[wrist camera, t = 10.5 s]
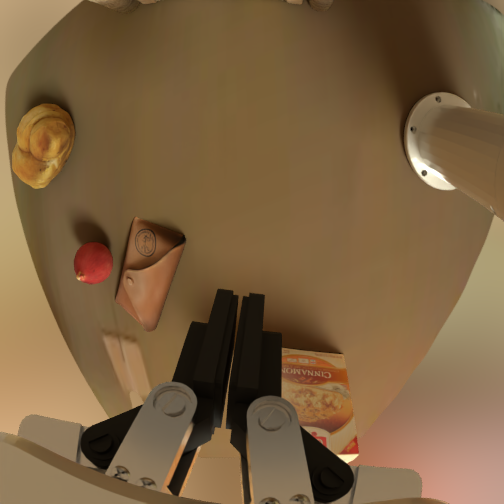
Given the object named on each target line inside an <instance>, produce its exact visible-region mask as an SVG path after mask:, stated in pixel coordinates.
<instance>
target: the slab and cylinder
mask: <svg viewBox="0 0 504 504" xmlns="http://www.w3.org/2000/svg"><path fill="white" fill-rule="evenodd" d="M89 1H92V2H95V3H97V4H100V5H102V6H105V7H107V8H110V9H112V10H115V11H117V12H119V13H122V14H128V13H131V12H133V11H134V10H135V9H136V8H137V7H138V6H139V4H140V1H138V0H89Z"/></svg>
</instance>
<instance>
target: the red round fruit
mask: <svg viewBox="0 0 504 504" xmlns="http://www.w3.org/2000/svg"><path fill="white" fill-rule="evenodd" d="M112 267H113V257H112V255H111V252H110V251H109V250H108V248H107V247H106V246H104V245H103V244H101V243H98V242H89V243H86V244H84V245H83V246H82V247H80V248H79V250H78V251H77V253H76V256H75V259H74V270H75V273H76V275H77V276H76V277H77V279H78V280H81V281H82V282H84V283H88V284H96V283H100V282H103V281H104V280H105V279H106V278H107V277H108V276H109V275H110V272H111V270H112Z"/></svg>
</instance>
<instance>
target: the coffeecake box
mask: <svg viewBox="0 0 504 504" xmlns="http://www.w3.org/2000/svg"><path fill="white" fill-rule="evenodd" d="M282 398H284V399H285V400H287V401H288V402H290V403H291V404H292V405H293V406H294V408H295V410H296V412H297V415H298V420H299V425H300V426H302V427H303V428H304V429H305V430H306V431H307V432H309V433H310V434H311V435H312V436H313V437H315V438H316V439H317V440H318V441H319V442H321V443H322V444H323V445H324V446H325V447H327V448H328V449H329V450H330V451H332V452H333V453H334V454H335V455H337V456H338V457H339V458H341V459H342V460H343V461H344V462H346V463H348V462H350V461H352V460H353V459H355V458H356V457H357V456H358V455H359V451H358V443H357V434H356V427H355V420H354V413H353V407H352V400H351V394H350V388H349V382H348V377H347V371H346V366H345V360H344V355H343V354H334V353H323V352H313V351H304V350H296V349H288V348H282Z"/></svg>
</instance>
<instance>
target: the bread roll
mask: <svg viewBox="0 0 504 504" xmlns="http://www.w3.org/2000/svg"><path fill="white" fill-rule="evenodd" d="M74 139H75V130H74V125H73V122H72V119H71V117H70V115H69V114H68V113H67V112H66V111H64V110H63V109H61V108H60V107H59V106H58V105H55V104H41V105H39V106H36V107H34V108H32V109H31V110H30V111H29V112H28V113H27V114H26V115H24V116H23V118H22V120H21V122H20V124H19V127H18V129H17V140H18V141H17V143H16V146H15V148H14V150H13V154H12V168H13V170H14V172H15V173H16V174H17V175H18V177H19V178H20V179H21V180H22V181H23V182H25V183H26V184H29V185H30V186H31V187H33V188H36V189H37V188H43V187H45V186H47V185H48V184H49V183H50V182H51V180H52V179H53V178H54V177H55V176H57V174H58V173H59V172H60V171H61V170H62V168H63V166H64V165H65V163H66V162H67V160H68V158H69V155H70V153H71V150H72V148H73V144H74Z"/></svg>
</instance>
